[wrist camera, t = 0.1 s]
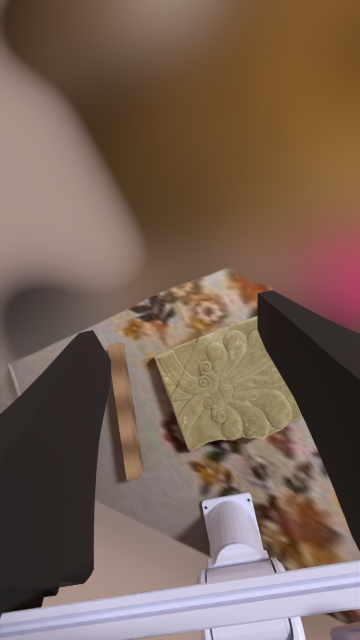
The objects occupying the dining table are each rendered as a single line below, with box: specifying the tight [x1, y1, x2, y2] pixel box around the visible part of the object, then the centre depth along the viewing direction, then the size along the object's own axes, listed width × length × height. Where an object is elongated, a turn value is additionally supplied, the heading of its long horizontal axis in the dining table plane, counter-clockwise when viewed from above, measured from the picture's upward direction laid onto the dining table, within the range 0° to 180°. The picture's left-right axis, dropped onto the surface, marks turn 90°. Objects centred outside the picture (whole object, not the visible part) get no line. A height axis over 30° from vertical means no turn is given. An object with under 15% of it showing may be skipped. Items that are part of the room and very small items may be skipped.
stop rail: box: [107, 343, 144, 481], centre depth 39 cm, size 22×2×3 cm, turn 12°
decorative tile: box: [154, 317, 302, 451], centre depth 39 cm, size 19×20×4 cm
